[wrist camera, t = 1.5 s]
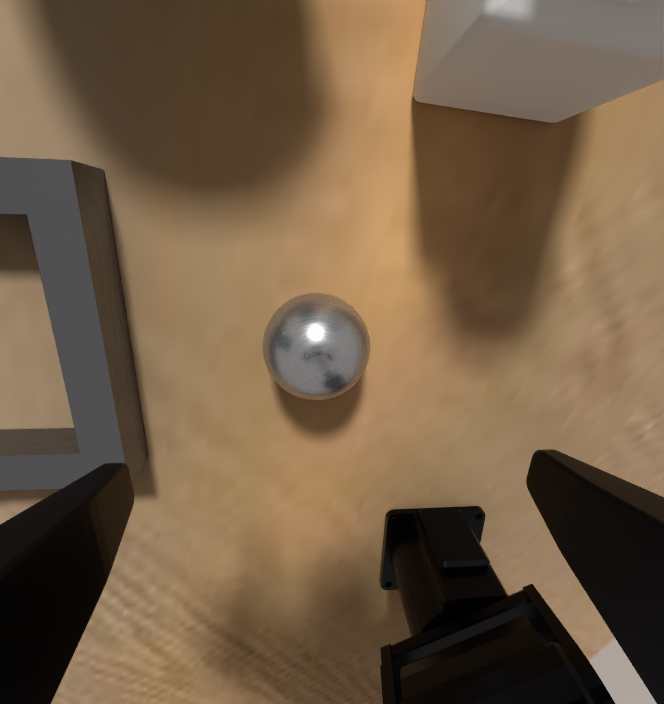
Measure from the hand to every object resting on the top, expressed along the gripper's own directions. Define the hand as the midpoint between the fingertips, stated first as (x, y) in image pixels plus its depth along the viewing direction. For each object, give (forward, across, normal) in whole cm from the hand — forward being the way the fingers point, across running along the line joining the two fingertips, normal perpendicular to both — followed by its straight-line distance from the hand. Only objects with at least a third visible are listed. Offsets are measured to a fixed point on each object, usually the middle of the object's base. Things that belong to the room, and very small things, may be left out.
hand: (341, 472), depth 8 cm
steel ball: (+10, 0, 0) cm, 10 cm away
